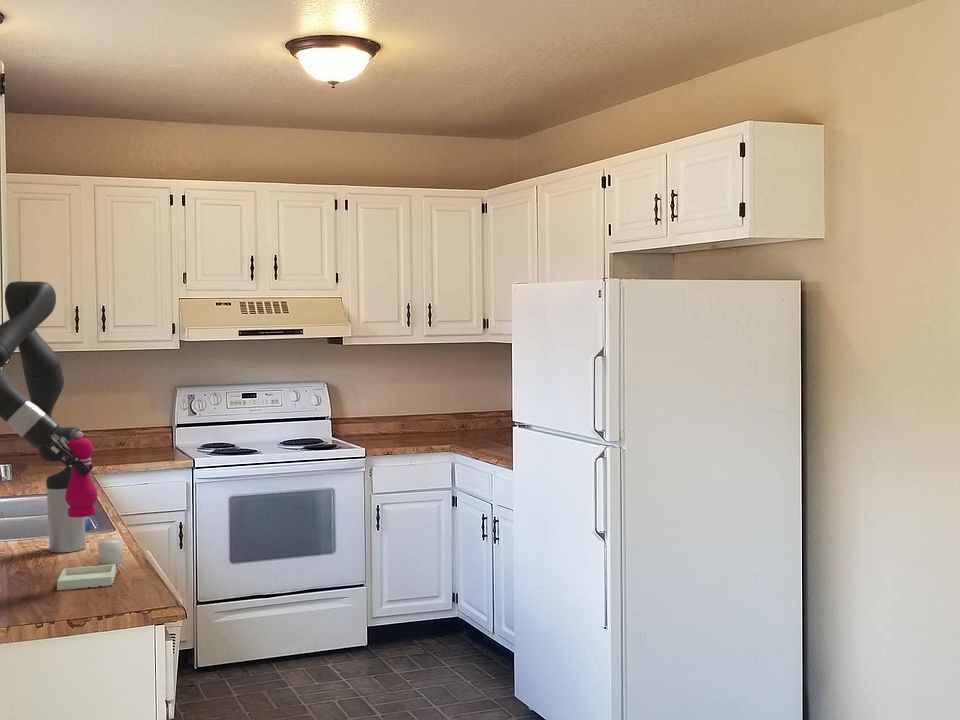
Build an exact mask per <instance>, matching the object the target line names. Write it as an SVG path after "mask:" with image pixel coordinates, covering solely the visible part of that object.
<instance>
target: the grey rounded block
mask: <svg viewBox="0 0 960 720" xmlns="http://www.w3.org/2000/svg"><path fill="white" fill-rule="evenodd" d="M97 554H98V556H97V557H98V558H97V561H98V564H97V565H98V566H101V565H113V564H116V565H120V564H122V563H123V564H124V541H123V538H104V539H100V540H98V541H97ZM123 564H122V565H123ZM120 566H121V565H120Z"/></svg>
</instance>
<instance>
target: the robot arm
mask: <svg viewBox="0 0 960 720" xmlns="http://www.w3.org/2000/svg"><path fill="white" fill-rule="evenodd" d="M56 296H57V295H56V291H55V288H54V287H53V286H52V285H51V284H50V283H49V282H45V281H23V280H22V281H11V282H10V283H7V285H6V287H5V292H4V303H5V307H6V308H5V309H6V313H7V315H8V318H9V319H8V320H6V321H4V322H3V323H1V324H0V418H1V419H2V420H3V421H5V422H6V424H8V426H10V428H11V429H12V430H13V431H14V432H15V433H17V434H18V435H19V436H20V437H21V438H23V439H24V440H25V441H26V442H27V443H29V445H31V446H32V447H33V448H35V449H37V450H38V453H39V456H40V458H41V460H42V461H44V462H49V463H50V462H51V463H52V462H53V463H54V462H56V463H57V462H59V463H61V462H62V464H64V465H65V468H64V469H62V470H61V471H59V472H57V473H55V474H54V473H53V474H52V475H49V476H48V477H47V478H46V481H45V483H46V486H45V487H46V501H47V504H46V505H47V524H48V525H47V526H48V547H49V549H48V550H49V552H51V553H71V552H76V551H81V550H83V549H86V546H87V545H86V544H87V543H86V527H85V524H86V523H85V517H69V516H68V508H70V505H69V504H68V503H67V502H66V501H65V494H66V490H67V488H68V485H69V483H70V480H71V467H72V466H73V467H72V468H74V469H75V470H76V471H77V472H78V473H80V474H81V475H82V476H83V477H85V476H86V475H87V474H88V473H89V472H91V471H92V470H93V469H94V465H92V463H91V464H90V467H89V468H88V467H87V466H86V465H85V464H84V463H82V462H81V461H80V460H79V459H78V457H76V456H75V455H74V454H72V450H71V449H70V448H69V446H68V445H67V444H68V442H69V441H71V440H72V439H75V438H76V437H75V434H76V432H78V431H80V432H82V431H81V429H80V428H78V427H75V426H74V427H70V426H69V427H67V426H66V427H65V426H64V427H60V424H59V423H58V422H57V421H56V420H55V419H54V418H52V414H53V410H54V407H55V406H56V403H57V401H58V399H59V397H60V395H61V393H62V391H63V389H64V385H65V380H64V379H65V378H64V373H63V369H62V365H61V360H60V359H59V356H58V355H57V353H56V352H55V351H54V349H52V347H51V346H50V345H49V344H48V343H47V342H46V340H44V339H43V337H42V336H41V335H40V334H39V332H38V331H37V330H36V329H37V328H38V327H40V325H41V324H42V323H43V322H44V321H45V320H46V319H47V318H48V317H49V316H50V315H51V314H52V313H53V311H54V309H55V307H56V303H57V297H56ZM17 349H18V351H19V355H20V360H21V365H22V369H23V376H24V380H25V384H26V388H27V392H28V397H29V399H28V397H26V396H25V395H24V394H23V393H21V392H20V391H19V390H18V389H16V387H15V386H14V385H13V383H12V381H11V379H10V378H9V377H8V376H7V374H6V373H5V371H4V370H3V369H2V368H3V367H4V366H5V365H6V364H7V363H8V362H9V360H10V359H11V357H12V356H13V354H14V352H15V351H16V350H17ZM82 438H84V437H82ZM78 460H79V461H78Z"/></svg>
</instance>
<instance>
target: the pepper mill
mask: <svg viewBox="0 0 960 720" xmlns="http://www.w3.org/2000/svg"><path fill="white" fill-rule="evenodd" d="M80 431H81V430H80ZM80 431H78V432H76V434H75V437H76V438H75V439H72V440H71V441H69V442H68V444H67V445H68V446H69V448H70V449H71V450H72V454H74V455H75V456H76V457H78V459H79V460H80V461H81V462H82V463H84V464H85V465H86V466H87V467H88V468H89V467H90V464H91V465H92V458H91V455H92V454H93V452H94V446H93V443H92V441H90V440H89V439H88V438H85V437H83V436H84V433H83V431H81V432H80ZM82 437H83V438H82ZM79 460H78V461H79ZM72 467H73V466H72ZM72 467H71V480H70V483H69V485H68V488H67V490H66V494H65V501H66V502H67V503H68V504H69V505H70V508H68V516H69V517H84V518H87V517H93V516H94V515H95V516H96V514H97V507H96V506H95V505H94V504H95V503H96V502H97V500H98V490H97V489H96V486H95V484H94V482H93V480H92V478H91V473H90V472H91V471H90V472H89V473H88V474H87V475H86V476H85V477H83V476H82V475H81V474H80V473H78V472H77V471H76V470H75V469H74V468H72Z"/></svg>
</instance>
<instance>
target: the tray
mask: <svg viewBox="0 0 960 720" xmlns="http://www.w3.org/2000/svg"><path fill="white" fill-rule="evenodd" d="M61 571H62V572H61V573H60V575H59V577H58V579H57V580H56V587H57V588H56V591H63V590H64V591H65V590H66V591H67V590H75V589H77V588H78V589H87V588H88V587H90V588H99V586H102V587H111V586H110V585H112V586H113V584H114V581H115V578H116V575H117V566H116V564H113V565H101V566H99V565H91V566H77V567H66V568H63V569H62V570H61ZM115 574H116V575H115ZM114 577H115V578H114ZM113 580H114V581H113ZM112 583H113V584H112ZM78 589H77V590H78ZM88 589H89V588H88Z"/></svg>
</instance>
